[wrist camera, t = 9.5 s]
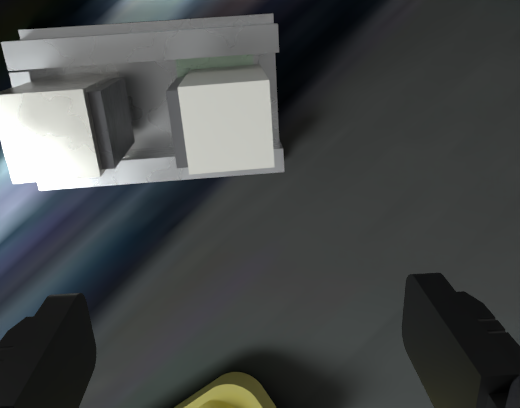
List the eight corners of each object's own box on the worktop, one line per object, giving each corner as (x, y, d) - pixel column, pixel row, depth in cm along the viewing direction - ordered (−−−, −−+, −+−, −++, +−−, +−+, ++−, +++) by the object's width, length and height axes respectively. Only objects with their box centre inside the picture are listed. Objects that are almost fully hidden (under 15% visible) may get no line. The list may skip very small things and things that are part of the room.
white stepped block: (271, 13, 27) (288, 12, 19) (278, 162, 30) (295, 210, 23) (25, 29, 26) (-55, 35, 19) (61, 179, 30) (5, 234, 22)
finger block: (259, 64, 27) (269, 79, 20) (264, 132, 28) (274, 167, 22) (179, 70, 26) (163, 88, 20) (188, 138, 28) (176, 175, 22)
